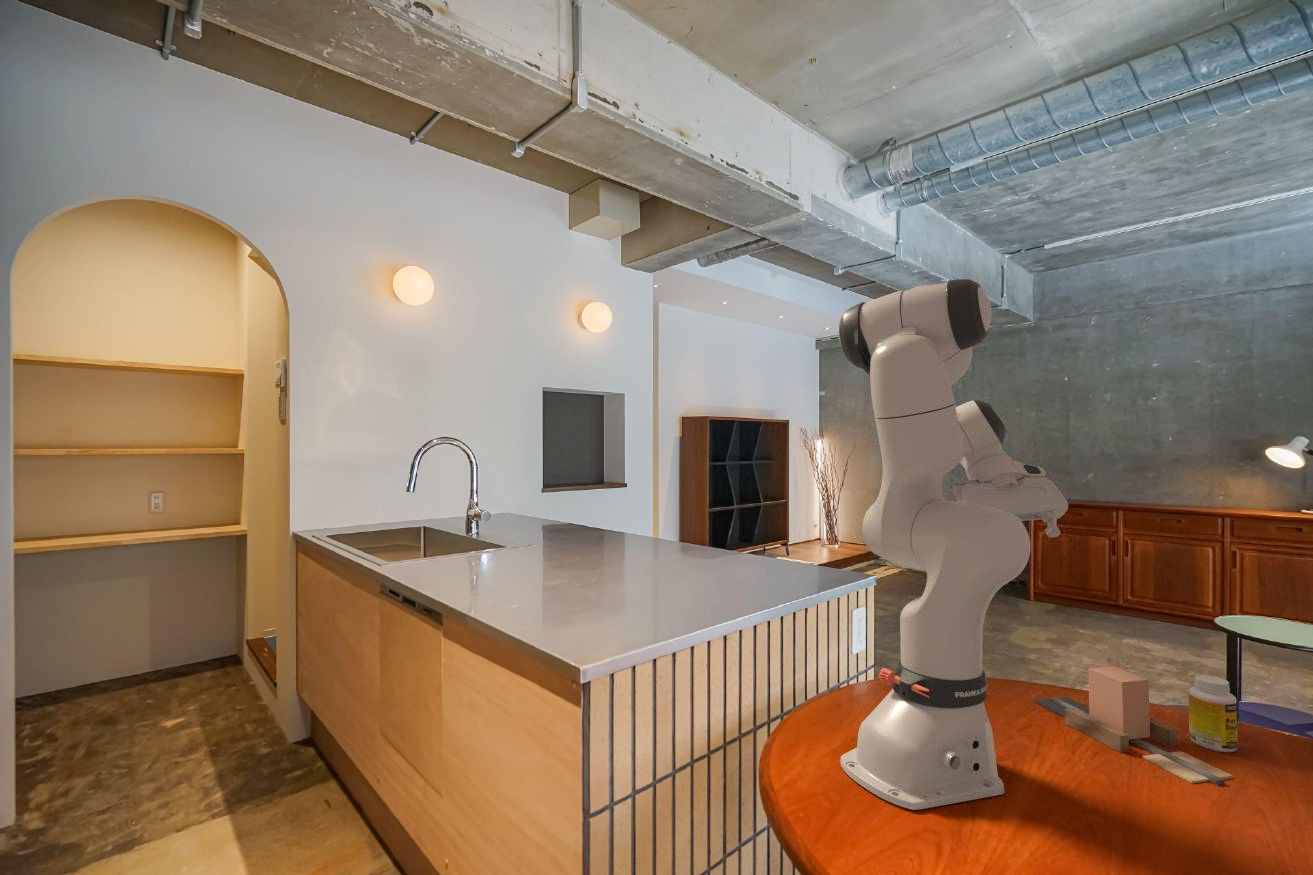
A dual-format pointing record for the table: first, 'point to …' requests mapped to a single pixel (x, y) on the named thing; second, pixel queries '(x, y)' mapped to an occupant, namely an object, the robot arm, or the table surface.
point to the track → (1121, 740)
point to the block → (1120, 700)
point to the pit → (1058, 708)
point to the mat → (1184, 771)
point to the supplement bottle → (1213, 714)
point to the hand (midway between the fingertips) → (1031, 537)
